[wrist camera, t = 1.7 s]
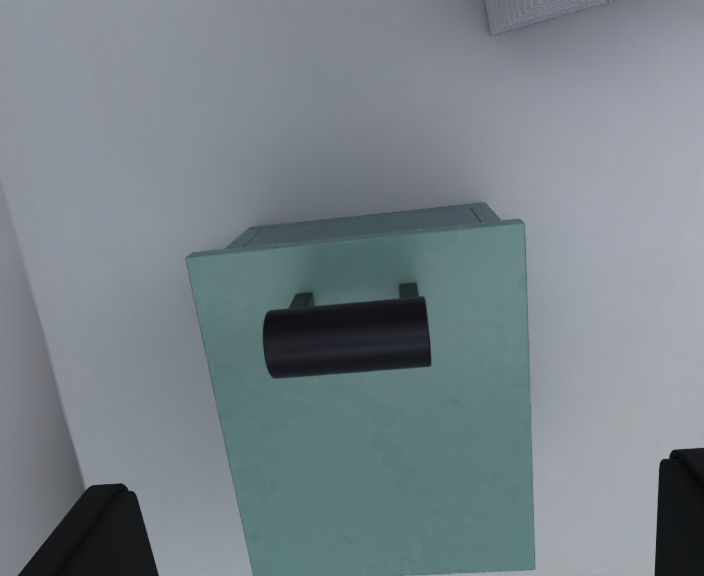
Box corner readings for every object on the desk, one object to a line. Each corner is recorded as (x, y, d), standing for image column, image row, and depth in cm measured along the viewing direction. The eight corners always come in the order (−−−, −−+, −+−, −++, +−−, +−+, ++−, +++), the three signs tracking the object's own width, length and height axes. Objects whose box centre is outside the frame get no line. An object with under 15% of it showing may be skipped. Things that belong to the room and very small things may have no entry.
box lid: (191, 252, 23) (123, 302, 17) (520, 218, 21) (566, 260, 16) (257, 569, 27) (222, 691, 22) (531, 557, 26) (570, 684, 20)
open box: (248, 227, 32) (195, 273, 23) (485, 202, 30) (521, 241, 22) (289, 458, 36) (258, 568, 27) (497, 445, 35) (531, 556, 26)
